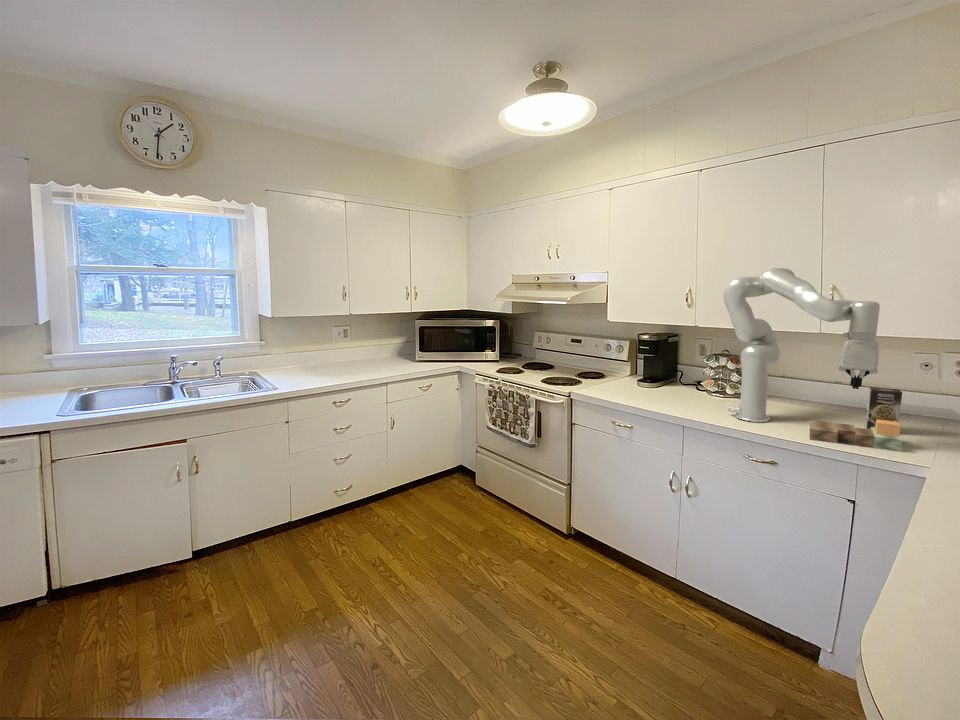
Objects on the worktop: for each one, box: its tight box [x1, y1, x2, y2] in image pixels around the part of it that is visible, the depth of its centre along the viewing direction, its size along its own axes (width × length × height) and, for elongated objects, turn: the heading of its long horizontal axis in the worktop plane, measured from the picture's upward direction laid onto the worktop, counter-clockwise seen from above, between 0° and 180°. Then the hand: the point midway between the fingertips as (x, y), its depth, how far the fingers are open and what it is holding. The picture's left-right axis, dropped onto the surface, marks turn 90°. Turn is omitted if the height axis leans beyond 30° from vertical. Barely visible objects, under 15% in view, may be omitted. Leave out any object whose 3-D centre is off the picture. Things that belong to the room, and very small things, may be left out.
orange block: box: [875, 419, 902, 437], centre depth 162 cm, size 6×5×4 cm
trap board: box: [809, 419, 903, 452], centre depth 168 cm, size 25×13×4 cm, turn 55°
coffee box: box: [864, 386, 903, 429], centre depth 176 cm, size 9×6×16 cm
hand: (855, 388), depth 165 cm, fingers closed
